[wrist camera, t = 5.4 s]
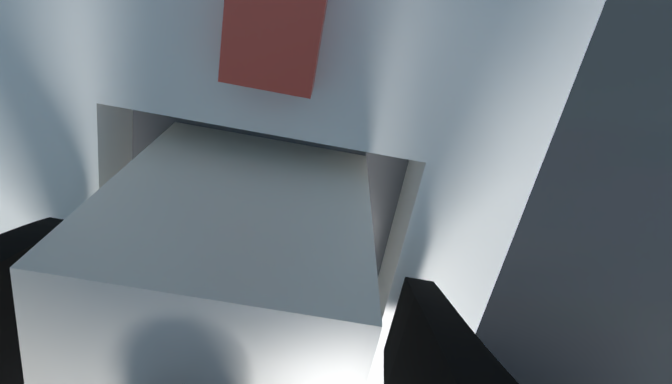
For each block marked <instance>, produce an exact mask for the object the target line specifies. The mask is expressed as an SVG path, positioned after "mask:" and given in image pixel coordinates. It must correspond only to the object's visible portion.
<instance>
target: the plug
mask: <svg viewBox="0 0 672 384" xmlns="http://www.w3.org/2000/svg"><path fill="white" fill-rule="evenodd" d="M10 275H11V283H12V291H13V299H14V307H15V315H16V323H17V331H18V338H19V346H20V354H21V362H22V370H23V378H24V384H367V380H368V377H369V373H370V370H371V366H372V362H373V359H374V355H375V352H376V348H377V345H378V341H379V338H380V334H381V330H382V317H381V307H380V296H379V286H378V275H377V265H376V254H375V244H374V233H373V223H372V212H371V202H370V192H369V181H368V171H367V160H366V156H363V155H358V154H352V153H346V152H341V151H335V150H330V149H324V148H318V147H313V146H307V145H302V144H296V143H290V142H285V141H279V140H273V139H268V138H262V137H257V136H251V135H245V134H240V133H234V132H229V131H223V130H217V129H212V128H206V127H201V126H195V125H189V124H184V123H178V122H175V123H174V124H172V125H171V126H170V127H169V128H168V129H167V130H166V131H164V132H163V133H162V134H161V135H160V136H159V137H158V138H157V139H155V140H154V141H153V142H152V143H151V144H150V145H149V146H147V147H146V148H145V149H144V150H143V151H142V152H141V153H139V154H138V155H137V156H136V157H135V158H134V159H133V160H131V161H130V162H129V163H128V164H127V165H126V166H125V167H124V168H122V169H121V170H120V171H119V172H118V173H117V174H116V175H114V176H113V177H112V178H111V179H110V180H109V181H108V182H106V183H105V184H104V185H103V186H102V187H101V188H100V189H98V190H97V191H96V192H95V193H94V194H93V195H92V196H91V197H89V198H88V199H87V200H86V201H85V202H84V203H83V204H81V205H80V206H79V207H78V208H77V209H76V210H75V211H73V212H72V213H71V214H70V215H69V216H68V217H67V218H65V219H64V220H63V221H62V222H61V223H60V224H59V225H58V226H56V227H55V228H54V229H53V230H52V231H51V232H50V233H48V234H47V235H46V236H45V237H44V238H43V239H42V240H40V241H39V242H38V243H37V244H36V245H35V246H34V247H32V248H31V249H30V250H29V251H28V252H27V253H26V254H25V255H23V256H22V257H21V258H20V259H19V260H18V261H17V262H15V263H14V264H13V265H12V266H11V267H10Z"/></svg>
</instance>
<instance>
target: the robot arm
mask: <svg viewBox="0 0 672 384" xmlns="http://www.w3.org/2000/svg"><path fill="white" fill-rule="evenodd" d="M63 220H64V219H58V218H52V217H48V218H45V219H41V220H38V221H35V222H32V223H29V224H26V225H23V226H20V227H18V228H15V229H12V230H10V231H7V232H4V233H2V234H0V384H24V378H23V370H22V362H21V354H20V346H19V338H18V331H17V323H16V315H15V307H14V299H13V291H12V283H11V275H10V267H11V266H12V265H13V264H14V263H15V262H17V261H18V260H19V259H20V258H21V257H22V256H23V255H25V254H26V253H27V252H28V251H29V250H30V249H31V248H32V247H34V246H35V245H36V244H37V243H38V242H39V241H40V240H42V239H43V238H44V237H45V236H46V235H47V234H48V233H50V232H51V231H52V230H53V229H54V228H55V227H56V226H58V225H59V224H60V223H61V222H62V221H63ZM384 384H518V382H517V381H516V380H515V379H514V378H513V377H512V376H511V375H510V374H509V373H508V372H507V371H506V369H505V368H504V367H503V366H502V365H501V364H500V363H499V362H498V360H497V359H496V358H495V357H494V356H493V355H492V354H491V352H490V351H489V350H488V349H487V348H486V346H485V345H484V344H483V343H482V342H481V340H480V339H479V338H478V337H477V336H476V334H475V333H474V332H473V331H472V329H471V328H470V327H469V326H468V324H467V323H466V322H465V321H464V319H463V318H462V317H461V316H460V314H459V313H458V312H457V310H456V309H455V308H454V307H453V305H452V304H451V303H450V301H449V300H448V299H447V298H446V296H445V295H444V294H443V293H442V291H441V290H440V289H439V288H438V286H437V285H436V284H435V283H434V282H433V281H428V280H422V279H416V278H410V277H405V279H404V282H403V286H402V289H401V293H400V296H399V299H398V303H397V306H396V310H395V313H394V317H393V320H392V323H391V327H390V330H389V334H388V337H387V340H386V344H385V347H384Z"/></svg>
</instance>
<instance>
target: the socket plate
mask: <svg viewBox="0 0 672 384" xmlns="http://www.w3.org/2000/svg"><path fill="white" fill-rule="evenodd" d="M605 1H606V0H0V234H2V233H4V232H7V231H10V230H12V229H15V228H18V227H20V226H23V225H26V224H29V223H32V222H35V221H38V220H41V219H45V218H48V217H52V218H58V219H65V218H67V217H68V216H69V215H70V214H71V213H72V212H73V211H75V210H76V209H77V208H78V207H79V206H80V205H81V204H83V203H84V202H85V201H86V200H87V199H88V198H89V197H91V196H92V195H93V194H94V193H95V192H96V191H97V190H98V189H100V188H101V187H102V186H103V185H104V184H105V183H106V182H108V181H109V180H110V179H111V178H112V177H113V176H114V175H116V174H117V173H118V172H119V171H120V170H121V169H122V168H124V167H125V166H126V165H127V164H128V163H129V162H130V161H131V160H133V159H134V158H135V157H136V156H137V155H138V154H139V153H141V152H142V151H143V150H144V149H145V148H146V147H147V146H149V145H150V144H151V143H152V142H153V141H154V140H155V139H157V138H158V137H159V136H160V135H161V134H162V133H163V132H164V131H166V130H167V129H168V128H169V127H170V126H171V125H172V124H174V123H175V122H178V123H184V124H189V125H195V126H201V127H206V128H212V129H217V130H223V131H229V132H234V133H240V134H245V135H251V136H257V137H262V138H268V139H273V140H279V141H285V142H290V143H296V144H302V145H307V146H313V147H318V148H324V149H330V150H335V151H341V152H346V153H352V154H358V155H363V156H366V160H367V171H368V181H369V192H370V202H371V212H372V223H373V233H374V244H375V254H376V265H377V275H378V286H379V296H380V307H381V317H382V330H381V334H380V338H379V341H378V345H377V348H376V352H375V355H374V359H373V362H372V366H371V370H370V373H369V377H368V380H367V384H384V347H385V344H386V340H387V337H388V334H389V330H390V327H391V323H392V320H393V317H394V313H395V310H396V306H397V303H398V299H399V296H400V293H401V289H402V286H403V282H404V279H405V277H410V278H416V279H422V280H428V281H433V282H434V283H435V284H436V285H437V286H438V288H439V289H440V290H441V291H442V293H443V294H444V295H445V296H446V298H447V299H448V300H449V301H450V303H451V304H452V305H453V307H454V308H455V309H456V310H457V312H458V313H459V314H460V316H461V317H462V318H463V319H464V321H465V322H466V323H467V324H468V326H469V327H470V328H471V329H472V331H473V332H474V333H475V334H476V331H477V329H478V326H479V323H480V321H481V318H482V316H483V313H484V311H485V308H486V306H487V303H488V300H489V298H490V295H491V293H492V290H493V288H494V285H495V282H496V280H497V277H498V275H499V272H500V270H501V267H502V265H503V262H504V259H505V257H506V254H507V252H508V249H509V247H510V244H511V242H512V239H513V236H514V234H515V231H516V229H517V226H518V224H519V221H520V218H521V216H522V213H523V211H524V208H525V206H526V203H527V201H528V198H529V195H530V193H531V190H532V188H533V185H534V183H535V180H536V178H537V175H538V172H539V170H540V167H541V165H542V162H543V160H544V157H545V154H546V152H547V149H548V147H549V144H550V142H551V139H552V137H553V134H554V131H555V129H556V126H557V124H558V121H559V119H560V116H561V114H562V111H563V108H564V106H565V103H566V101H567V98H568V96H569V93H570V91H571V88H572V85H573V83H574V80H575V78H576V75H577V73H578V70H579V67H580V65H581V62H582V60H583V57H584V55H585V52H586V50H587V47H588V44H589V42H590V39H591V37H592V34H593V32H594V29H595V27H596V24H597V21H598V19H599V16H600V14H601V11H602V9H603V6H604V3H605Z"/></svg>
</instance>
